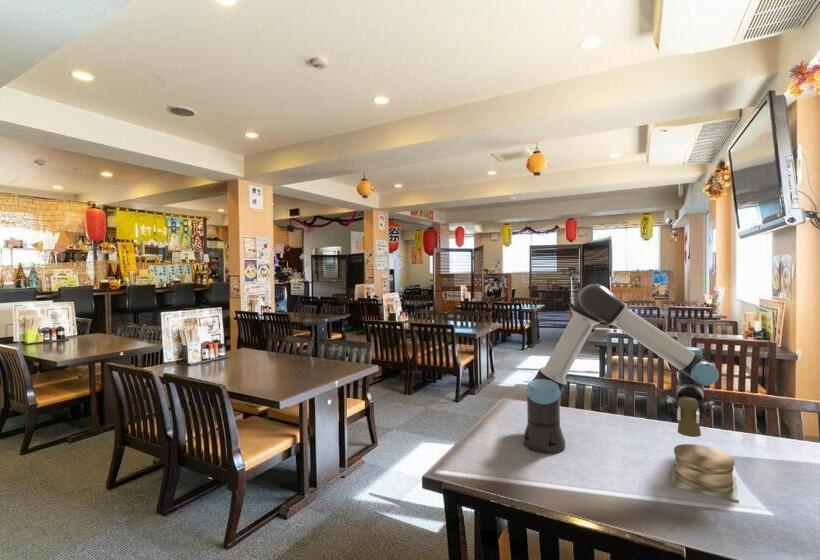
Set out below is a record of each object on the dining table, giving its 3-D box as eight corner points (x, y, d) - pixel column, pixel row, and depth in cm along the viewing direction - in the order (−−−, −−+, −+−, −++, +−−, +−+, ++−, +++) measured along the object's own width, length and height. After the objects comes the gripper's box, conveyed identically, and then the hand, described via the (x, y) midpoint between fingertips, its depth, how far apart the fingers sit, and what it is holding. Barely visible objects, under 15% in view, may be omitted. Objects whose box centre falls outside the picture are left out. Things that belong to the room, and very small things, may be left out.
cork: (704, 437, 124) (704, 401, 123) (682, 436, 125) (681, 400, 125) (695, 429, 129) (694, 395, 129) (674, 429, 131) (673, 394, 131)
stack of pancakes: (670, 486, 123) (670, 457, 123) (674, 465, 136) (673, 439, 136) (738, 502, 114) (738, 471, 114) (735, 478, 127) (735, 451, 127)
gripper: (721, 412, 137) (724, 435, 118) (661, 404, 147) (655, 424, 128) (720, 390, 137) (723, 409, 118) (660, 383, 147) (654, 400, 128)
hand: (688, 417), depth 123 cm, fingers closed on cork, 4 cm apart
